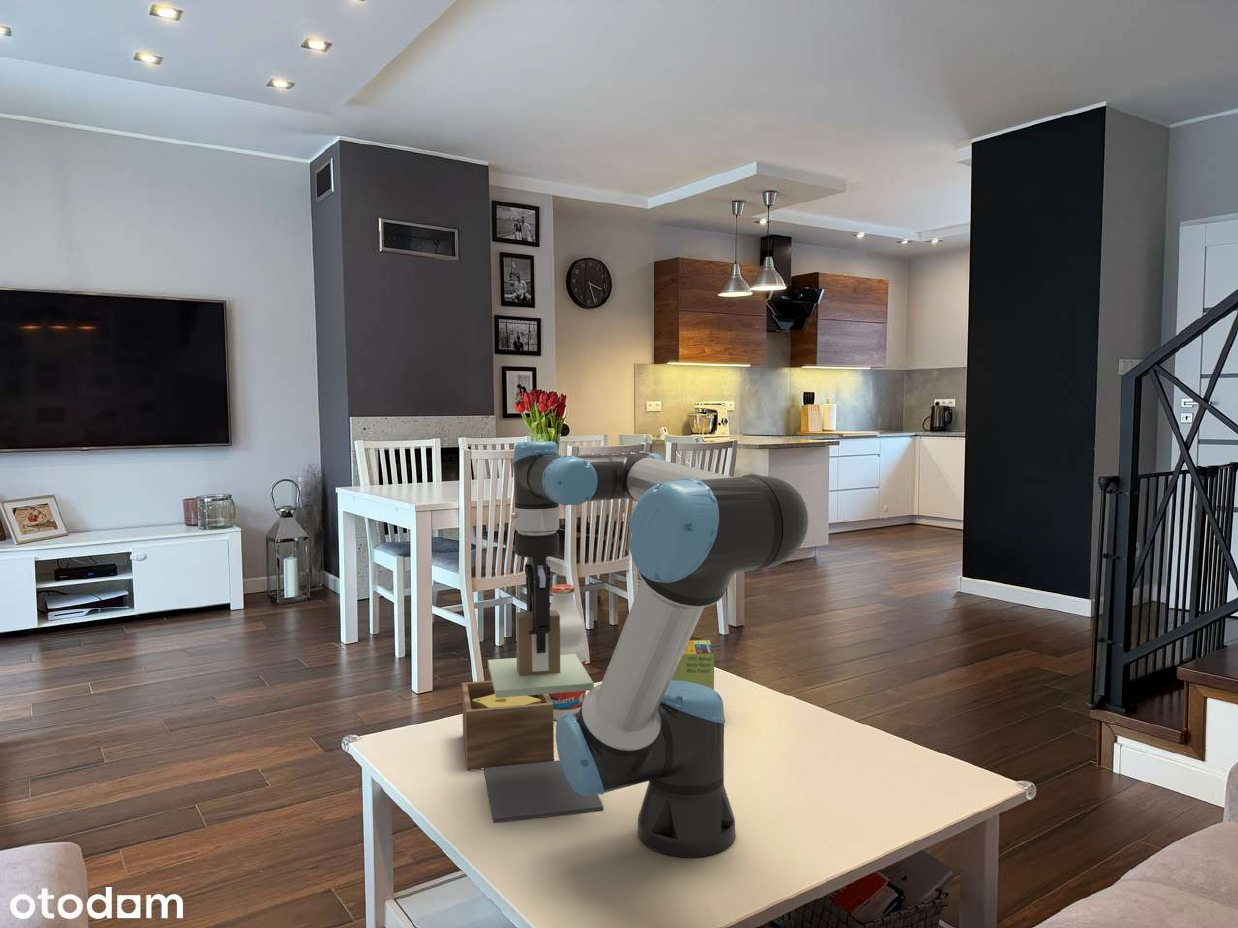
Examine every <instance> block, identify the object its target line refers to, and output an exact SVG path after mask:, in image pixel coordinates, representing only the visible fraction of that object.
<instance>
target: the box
mask: <svg viewBox="0 0 1238 928" xmlns="http://www.w3.org/2000/svg"><path fill="white" fill-rule="evenodd" d="M461 694H462V695H461V696H462V697H461V698H462V707H461V708H462V735H463V736H462V738H463V747H464V755H465V761H466V762H465V763H466V771H467V770H468V771H472V770H471V769H478V770H482V769H481V768H489V767H499V766H508V765H518V764H528V763H538V762H548V761H555V751H554V750H555V749H554V748H555V739H554V738H555V737H554V735H555V734H554V733H555V731H554V730H555V729H554V720H553V703H552V700H551V698H550V696H549V694H539V695H527V696H530V697H534V698H538V699H540V700H542V704H530V705H518V706H506V707H495V708H483V709H471V701H472V700H473V699H477V698H481V697H485V696H489V695H493V694H495V692H494V688H493V684H492V680H483V681H482V680H480V681H479V680H478V681H467V682H465V681H464V682H462V683H461Z"/></svg>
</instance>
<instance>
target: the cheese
mask: <svg viewBox="0 0 1238 928" xmlns="http://www.w3.org/2000/svg"><path fill="white" fill-rule="evenodd" d="M530 704H542V700H540V699H538V698H534V697H530V696H515V697H502V698H496V696H495V694H493V695H489V696H485V697H481V698H477V699H473V700H472V701H471V709H483V708H495V707H506V706H518V705H530Z"/></svg>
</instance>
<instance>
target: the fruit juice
mask: <svg viewBox="0 0 1238 928" xmlns="http://www.w3.org/2000/svg"><path fill="white" fill-rule="evenodd" d="M550 591H551V595H552V599H551V600H550V610H557V612H558V613H559V615H560V655H565V654H576V655H577V657H578V659H579V660H580V662H581V663H582V665H583V667H584V668H585V669H586V646H585V644H584V642H583V641H584V640H583V637H584V633H585V622H584V619H583V618H582V616H581V615H580V612H579V609H578V607H577V604H576V601H575V599H574V594H575V586H574V585H572V584H566V583H565V584H564V583H562V584H554V585H552V586H551V589H550ZM586 692H587V691H576V692H564V693H552V694H549V696H550V698H551V700H552V703H553V721H558V720H559V718H560V717H561V716H563V715H566V714H567V713H568V712H571V713H576V712H578V711H580V708H581V706H582V703H583V701H584V698H585V696H586V695H587V694H586Z"/></svg>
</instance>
